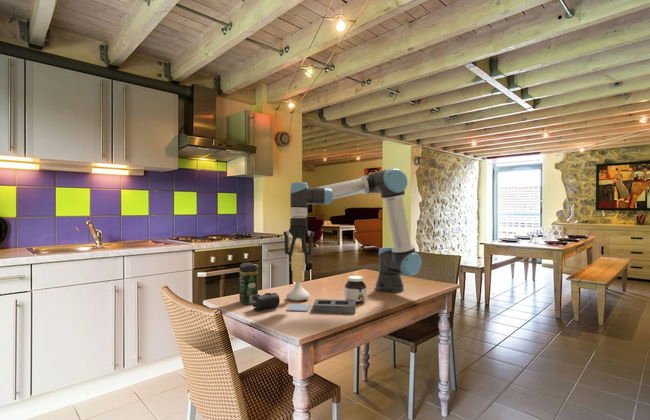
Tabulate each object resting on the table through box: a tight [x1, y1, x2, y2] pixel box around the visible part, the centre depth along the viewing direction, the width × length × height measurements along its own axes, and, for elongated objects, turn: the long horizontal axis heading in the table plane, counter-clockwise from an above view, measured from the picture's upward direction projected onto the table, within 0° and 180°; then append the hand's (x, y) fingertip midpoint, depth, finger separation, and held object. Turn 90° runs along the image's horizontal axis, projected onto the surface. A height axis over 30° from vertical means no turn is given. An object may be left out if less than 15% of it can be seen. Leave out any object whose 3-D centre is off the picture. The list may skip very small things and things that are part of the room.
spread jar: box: [343, 275, 367, 305], centre depth 167 cm, size 12×11×12 cm
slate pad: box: [286, 303, 311, 313], centre depth 154 cm, size 9×9×1 cm
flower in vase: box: [285, 248, 311, 302], centre depth 168 cm, size 13×11×25 cm
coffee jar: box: [239, 261, 259, 306], centre depth 163 cm, size 10×8×19 cm
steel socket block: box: [312, 298, 357, 315], centre depth 152 cm, size 18×10×3 cm, turn 84°
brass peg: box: [291, 252, 305, 283], centre depth 153 cm, size 4×4×12 cm
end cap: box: [252, 292, 281, 313], centre depth 152 cm, size 10×7×7 cm
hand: (298, 270), depth 153 cm, fingers closed on brass peg, 4 cm apart
